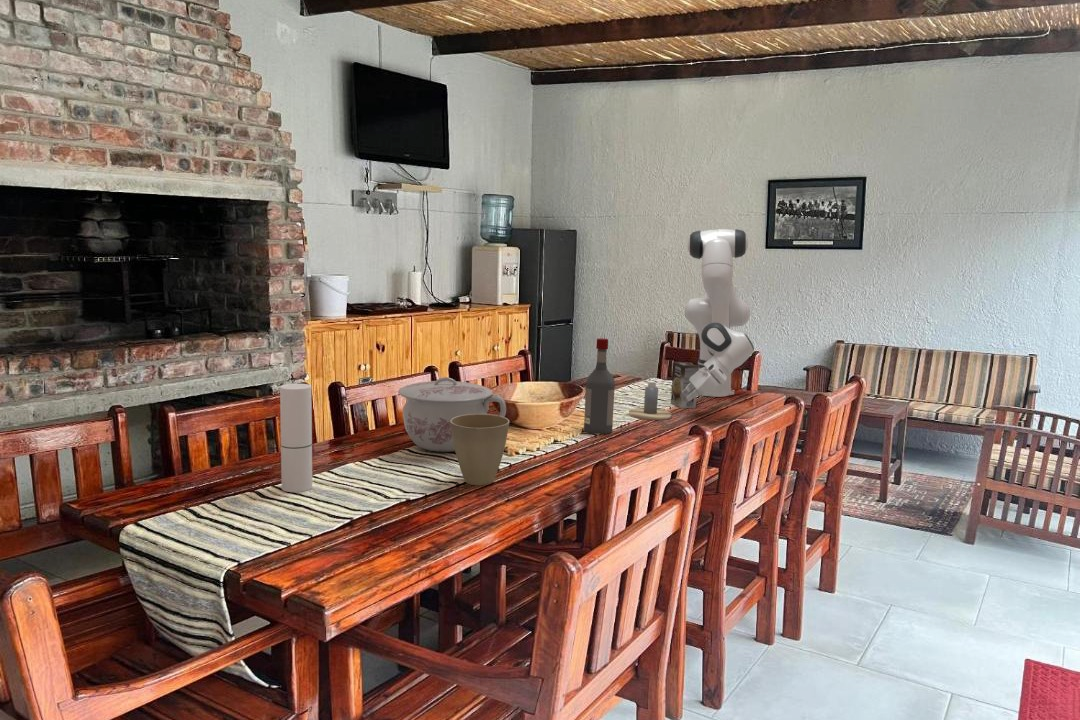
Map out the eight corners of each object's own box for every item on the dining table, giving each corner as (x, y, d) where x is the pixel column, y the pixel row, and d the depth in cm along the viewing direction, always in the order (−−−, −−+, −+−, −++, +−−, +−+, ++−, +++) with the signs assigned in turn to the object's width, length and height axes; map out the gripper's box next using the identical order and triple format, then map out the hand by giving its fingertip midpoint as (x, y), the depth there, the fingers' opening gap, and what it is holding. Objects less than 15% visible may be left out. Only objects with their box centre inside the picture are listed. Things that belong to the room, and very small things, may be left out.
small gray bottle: (643, 410, 288) (644, 380, 286) (656, 411, 288) (657, 381, 286) (644, 413, 283) (646, 383, 281) (657, 414, 283) (659, 383, 281)
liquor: (612, 427, 265) (617, 338, 260) (612, 434, 256) (616, 341, 251) (584, 426, 266) (588, 336, 261) (583, 433, 257) (587, 340, 252)
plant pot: (477, 468, 215) (479, 410, 212) (519, 481, 206) (521, 420, 203) (436, 481, 204) (437, 419, 201) (479, 494, 194) (480, 430, 192)
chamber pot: (378, 444, 236) (378, 374, 232) (451, 430, 255) (452, 365, 252) (437, 466, 216) (439, 390, 213) (512, 449, 236) (514, 379, 232)
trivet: (627, 409, 293) (627, 407, 293) (668, 411, 293) (668, 408, 292) (630, 419, 278) (630, 416, 278) (674, 421, 278) (674, 418, 278)
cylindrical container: (310, 481, 199) (309, 383, 195) (313, 490, 193) (312, 388, 189) (280, 484, 197) (279, 384, 193) (282, 493, 190) (280, 389, 186)
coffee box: (669, 403, 307) (672, 361, 305) (685, 402, 309) (687, 361, 306) (681, 408, 299) (683, 365, 296) (696, 407, 301) (699, 365, 298)
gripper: (704, 359, 292) (675, 384, 294) (714, 369, 272) (683, 396, 274) (715, 371, 293) (687, 396, 295) (726, 382, 273) (695, 409, 274)
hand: (685, 396), depth 284 cm, fingers open, 8 cm apart
